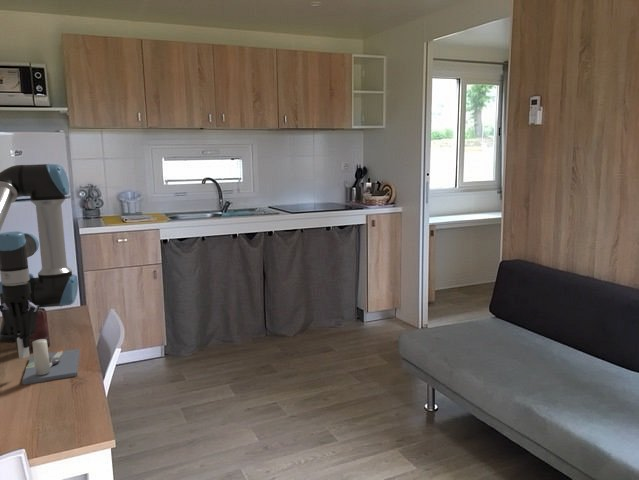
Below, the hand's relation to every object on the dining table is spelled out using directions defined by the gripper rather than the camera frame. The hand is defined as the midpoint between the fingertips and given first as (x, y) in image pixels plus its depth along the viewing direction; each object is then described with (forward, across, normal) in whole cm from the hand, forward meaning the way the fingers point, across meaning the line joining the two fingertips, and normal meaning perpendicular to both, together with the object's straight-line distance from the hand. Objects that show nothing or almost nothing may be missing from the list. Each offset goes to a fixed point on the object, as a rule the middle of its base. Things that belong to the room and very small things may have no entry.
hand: (24, 357), depth 164 cm
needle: (+4, +4, +7) cm, 9 cm away
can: (+6, -14, +22) cm, 27 cm away
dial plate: (+6, +4, +8) cm, 10 cm away
